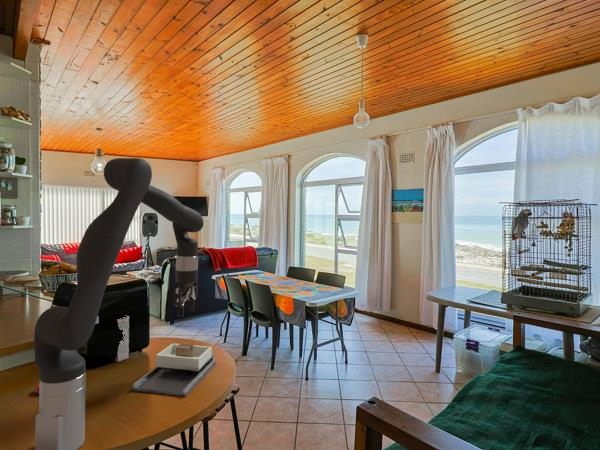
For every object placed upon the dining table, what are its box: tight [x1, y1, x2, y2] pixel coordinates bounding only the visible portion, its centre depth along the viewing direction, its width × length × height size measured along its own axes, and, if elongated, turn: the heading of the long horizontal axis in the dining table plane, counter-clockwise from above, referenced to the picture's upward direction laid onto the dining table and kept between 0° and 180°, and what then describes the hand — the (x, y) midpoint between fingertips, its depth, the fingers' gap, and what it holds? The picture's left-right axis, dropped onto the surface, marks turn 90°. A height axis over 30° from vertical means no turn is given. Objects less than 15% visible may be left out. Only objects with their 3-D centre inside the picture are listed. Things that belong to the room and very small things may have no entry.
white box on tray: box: [155, 343, 213, 373], centre depth 131 cm, size 12×16×6 cm
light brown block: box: [176, 342, 194, 358], centre depth 130 cm, size 4×4×5 cm
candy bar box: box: [114, 315, 130, 363], centre depth 140 cm, size 11×5×16 cm, turn 58°
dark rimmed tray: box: [131, 353, 217, 397], centre depth 126 cm, size 25×18×4 cm
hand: (185, 313), depth 130 cm, fingers open, 8 cm apart
